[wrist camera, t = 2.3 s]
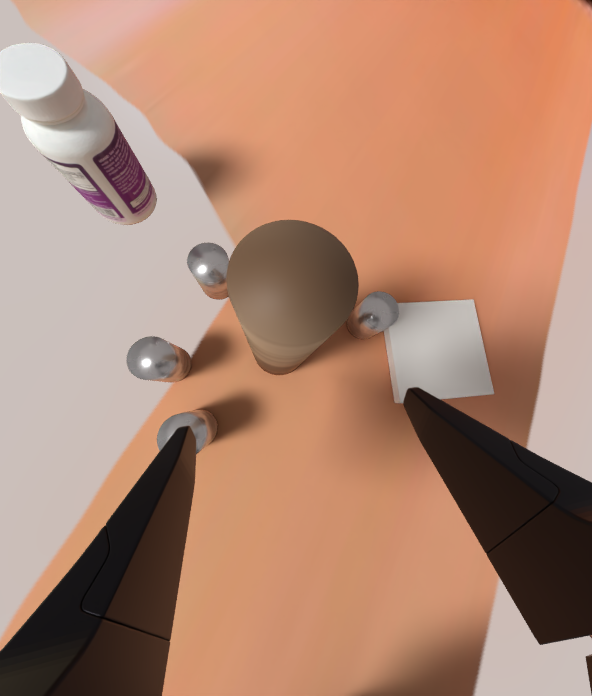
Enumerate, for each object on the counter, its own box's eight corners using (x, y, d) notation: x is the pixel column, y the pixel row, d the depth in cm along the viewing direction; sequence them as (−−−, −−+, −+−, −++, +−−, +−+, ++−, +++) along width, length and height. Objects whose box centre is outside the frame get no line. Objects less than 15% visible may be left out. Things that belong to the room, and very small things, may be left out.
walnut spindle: (305, 373, 22) (366, 339, 8) (255, 377, 21) (229, 348, 8) (301, 325, 22) (350, 219, 9) (252, 327, 22) (223, 220, 8)
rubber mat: (484, 394, 23) (494, 394, 22) (394, 402, 22) (400, 403, 21) (465, 303, 25) (473, 299, 24) (380, 307, 24) (384, 303, 23)
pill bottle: (143, 169, 24) (60, 21, 14) (168, 213, 23) (97, 89, 14) (87, 189, 23) (-44, 45, 13) (111, 236, 22) (-7, 120, 13)
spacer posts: (392, 426, 22) (419, 433, 18) (153, 452, 19) (123, 468, 15) (368, 264, 24) (387, 239, 20) (155, 270, 22) (130, 243, 18)
